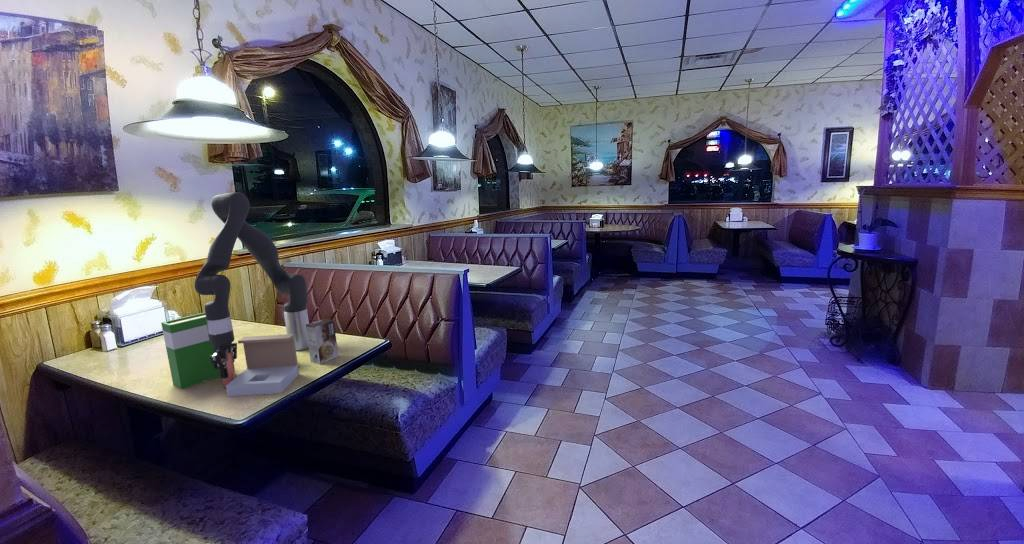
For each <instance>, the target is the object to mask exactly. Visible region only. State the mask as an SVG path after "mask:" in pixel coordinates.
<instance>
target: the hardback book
mask: <svg viewBox="0 0 1024 544" xmlns="http://www.w3.org/2000/svg"><path fill="white" fill-rule="evenodd" d="M160 323H161V329H162V335H163V340H164V344H165V345H164V346H165V350H166V355H167V359H168V366H169V369H170V374H171V375H170V376H171V378H172V379H171V380H172V381H171V382H172V385H173V386H175V387H176V388H178V389H180V390H183V389H186V388H190V387H191V386H195V385H199V384H201V383H204V382H207V381H211V380H213V379H216V378H219V377H221V375H220V370H219V369H215V368H214V366H213V364H212V362H211V359H210V356H211V355H214V353H215V352H214V350H215V347H214V346H212V345H210V341H209V336H208V330H207V320H206V314H205V312H201V313H196V314H192V315H188V316H184V317H179V318H174V319H171V320H166V321H162V322H160ZM217 366H218V364H217Z"/></svg>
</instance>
